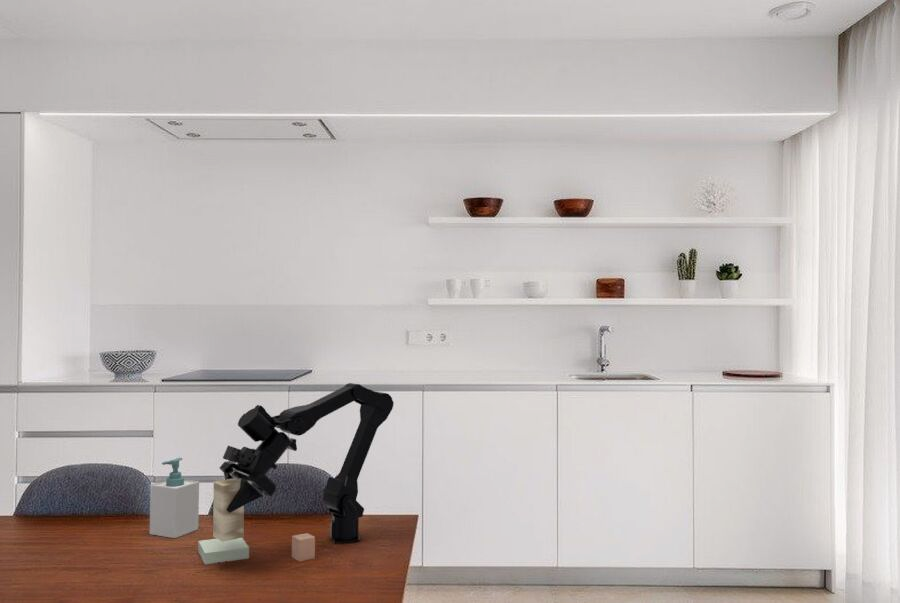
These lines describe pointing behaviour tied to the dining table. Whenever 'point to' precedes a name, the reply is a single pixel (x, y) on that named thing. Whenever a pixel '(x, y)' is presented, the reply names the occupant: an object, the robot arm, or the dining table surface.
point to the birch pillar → (223, 521)
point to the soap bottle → (174, 504)
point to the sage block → (222, 550)
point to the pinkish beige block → (303, 547)
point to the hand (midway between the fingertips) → (222, 508)
